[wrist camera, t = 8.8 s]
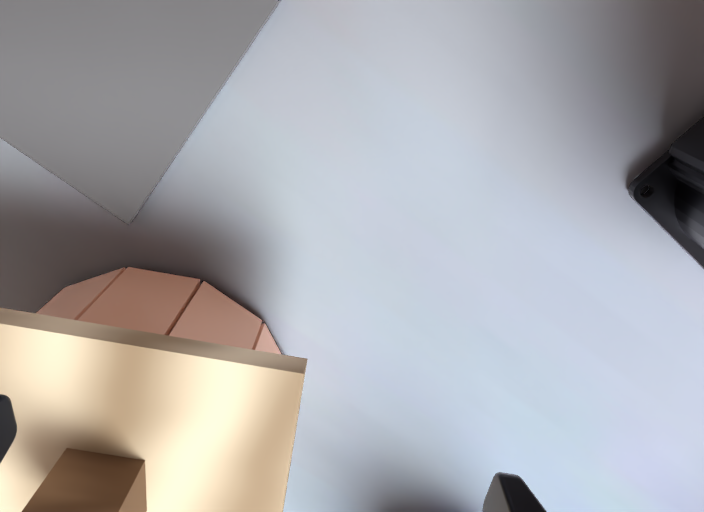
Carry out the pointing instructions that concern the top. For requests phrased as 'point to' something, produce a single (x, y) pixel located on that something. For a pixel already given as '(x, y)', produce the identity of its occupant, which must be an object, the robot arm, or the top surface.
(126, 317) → the bowl
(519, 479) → the robot arm
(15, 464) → the lid
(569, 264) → the top surface
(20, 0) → the mat
